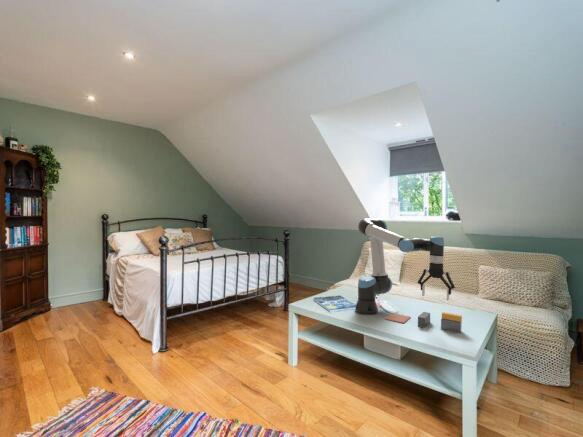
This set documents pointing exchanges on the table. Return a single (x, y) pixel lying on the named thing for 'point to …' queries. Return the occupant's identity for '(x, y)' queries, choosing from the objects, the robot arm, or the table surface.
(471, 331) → the table surface
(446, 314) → the orange rectangular beam
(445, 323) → the gray rectangular box
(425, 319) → the tall gray pillar
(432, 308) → the table surface
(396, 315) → the mat
